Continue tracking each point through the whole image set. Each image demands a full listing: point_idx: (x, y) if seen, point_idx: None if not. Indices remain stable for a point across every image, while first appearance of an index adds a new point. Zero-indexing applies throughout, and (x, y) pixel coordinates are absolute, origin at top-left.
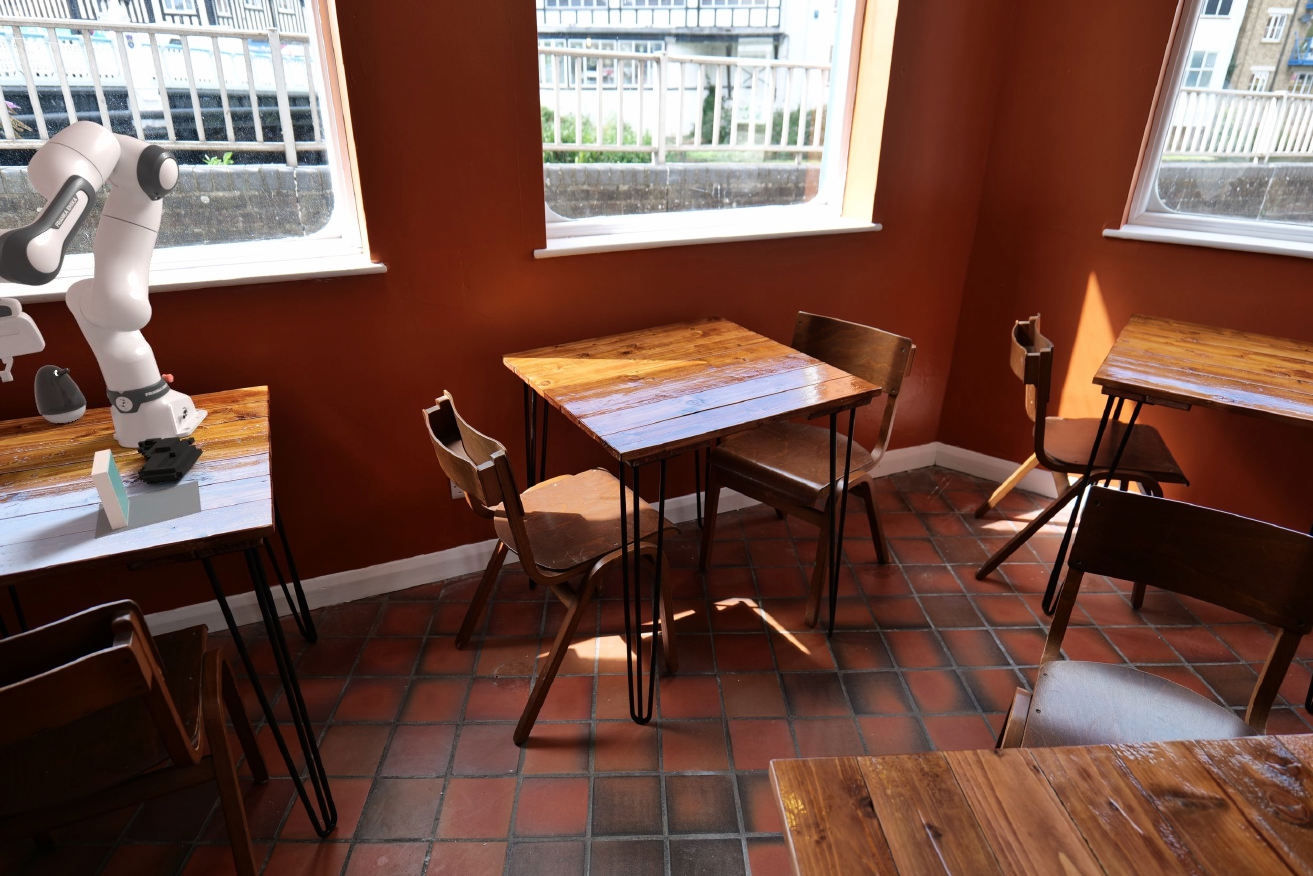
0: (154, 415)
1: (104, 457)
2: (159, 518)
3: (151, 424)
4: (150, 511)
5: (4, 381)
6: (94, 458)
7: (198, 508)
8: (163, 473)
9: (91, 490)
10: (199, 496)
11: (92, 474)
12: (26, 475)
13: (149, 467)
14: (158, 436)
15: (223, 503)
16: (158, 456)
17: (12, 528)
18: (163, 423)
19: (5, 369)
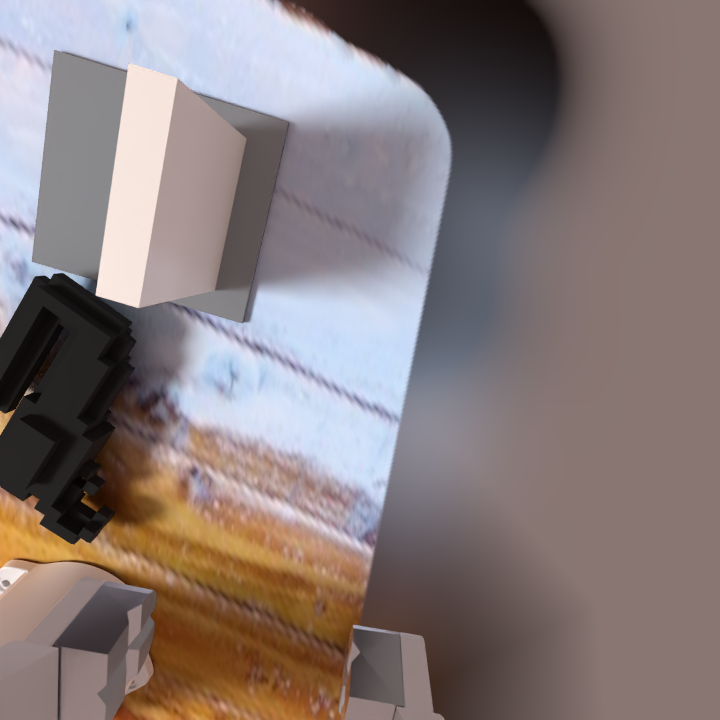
0: (10, 629)
1: (119, 224)
2: None
3: (41, 610)
4: None
5: (143, 589)
6: (148, 247)
7: (57, 77)
8: (75, 304)
9: (243, 426)
10: (43, 155)
11: (172, 83)
12: (333, 618)
13: (92, 346)
14: (60, 578)
15: (3, 67)
16: (62, 402)
17: (410, 360)
18: (19, 603)
19: (26, 694)
